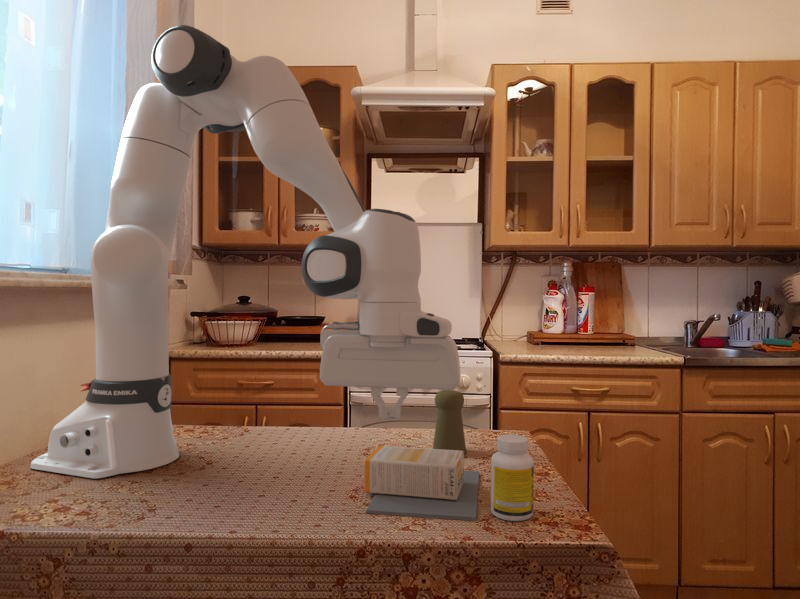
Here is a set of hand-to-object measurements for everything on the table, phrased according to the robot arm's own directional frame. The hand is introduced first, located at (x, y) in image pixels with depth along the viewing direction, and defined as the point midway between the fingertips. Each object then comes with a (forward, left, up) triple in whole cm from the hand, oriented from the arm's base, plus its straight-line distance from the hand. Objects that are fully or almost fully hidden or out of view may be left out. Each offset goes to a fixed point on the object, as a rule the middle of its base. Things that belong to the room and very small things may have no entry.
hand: (389, 418), depth 80 cm
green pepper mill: (+7, +20, -10) cm, 24 cm away
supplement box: (-3, +1, -8) cm, 8 cm away
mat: (+6, 0, -10) cm, 12 cm away
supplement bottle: (+17, -6, -10) cm, 21 cm away
